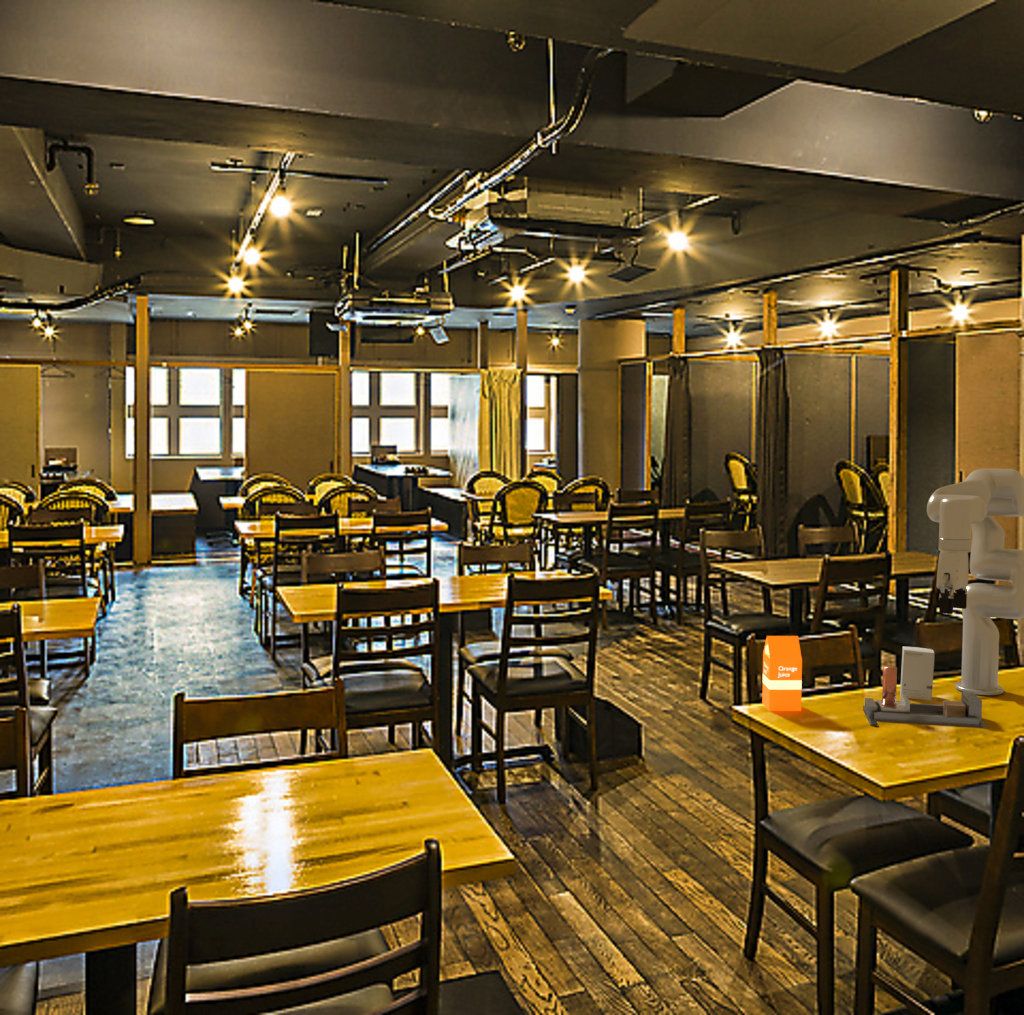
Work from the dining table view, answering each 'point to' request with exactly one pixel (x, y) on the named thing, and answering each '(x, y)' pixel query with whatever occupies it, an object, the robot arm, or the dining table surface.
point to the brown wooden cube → (953, 708)
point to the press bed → (930, 713)
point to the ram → (892, 694)
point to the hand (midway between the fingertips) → (952, 610)
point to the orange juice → (782, 674)
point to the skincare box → (917, 673)
